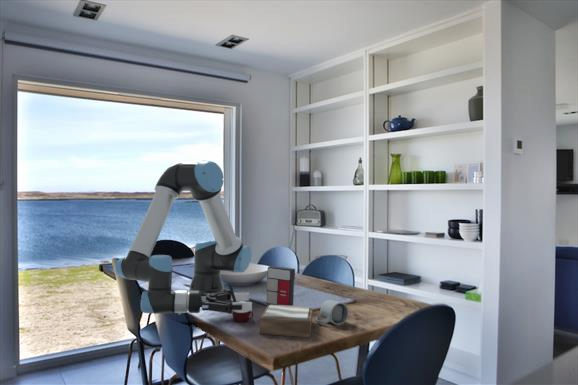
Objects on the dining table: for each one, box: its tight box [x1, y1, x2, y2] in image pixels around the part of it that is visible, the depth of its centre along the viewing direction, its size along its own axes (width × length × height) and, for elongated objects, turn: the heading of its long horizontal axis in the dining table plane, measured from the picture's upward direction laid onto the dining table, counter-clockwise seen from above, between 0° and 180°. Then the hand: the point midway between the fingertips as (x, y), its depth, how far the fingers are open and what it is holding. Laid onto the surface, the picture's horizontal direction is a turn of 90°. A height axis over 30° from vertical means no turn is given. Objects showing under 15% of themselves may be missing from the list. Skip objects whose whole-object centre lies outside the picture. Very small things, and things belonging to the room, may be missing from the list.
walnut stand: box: [259, 304, 313, 338], centre depth 138 cm, size 16×16×6 cm
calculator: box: [266, 265, 296, 306], centre depth 168 cm, size 11×4×15 cm, turn 62°
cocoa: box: [228, 283, 254, 323], centre depth 145 cm, size 10×6×12 cm, turn 48°
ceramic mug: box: [315, 299, 349, 326], centre depth 146 cm, size 11×8×8 cm
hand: (250, 301), depth 145 cm, fingers open, 13 cm apart
